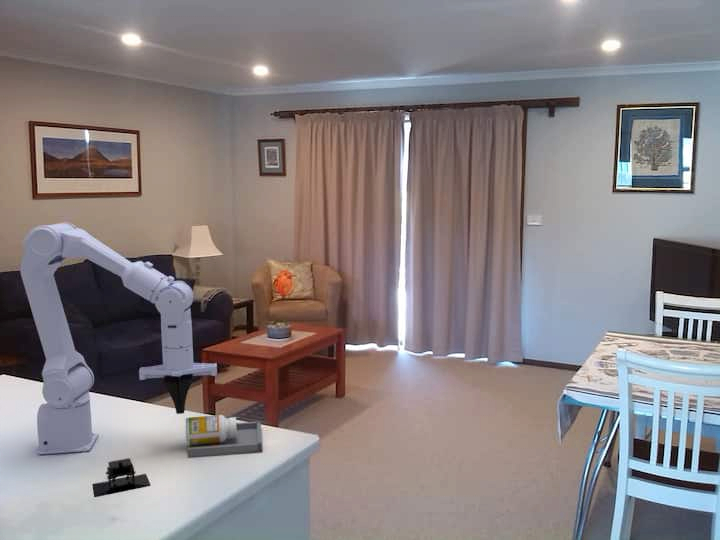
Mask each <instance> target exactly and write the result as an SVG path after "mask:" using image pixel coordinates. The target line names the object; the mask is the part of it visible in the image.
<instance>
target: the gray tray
mask: <svg viewBox="0 0 720 540" xmlns="http://www.w3.org/2000/svg"><path fill="white" fill-rule="evenodd" d="M236 429H237V437H236V438H229V437H227V438H226V440H225V441H224V442H221V443H211V444H201V445H189V446H188V447H187V450H186V451H187V458H197V457H198V458H200V457H211V456H212V457H213V456H226V454H228V455H238V454H251V453H252V454H253V453H262V452H263V443H262V442H263V441H262V422H261V421H245V422H236Z"/></svg>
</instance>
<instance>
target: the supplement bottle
mask: <svg viewBox="0 0 720 540" xmlns="http://www.w3.org/2000/svg"><path fill="white" fill-rule="evenodd" d="M236 423H237V417H234V416H233V417H231V416H230V417H228V418H226V416H225V415H222V414H215V415H214V414H213V415H205V416H195V417H194V416H193V417H186V418H185V441H186V446H187V447H190V445H201V444H211V443H221V442H224V441H225V440H226V438H227V437H229V438H236V437H237V429H236Z"/></svg>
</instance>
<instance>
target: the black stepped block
mask: <svg viewBox="0 0 720 540" xmlns="http://www.w3.org/2000/svg"><path fill="white" fill-rule="evenodd" d="M107 465H108V466H107V467H106V472H105V475H107V476H106V479H107V480H106V481H100V482H95V483H92V491H93V498H98V497H103V496H108V495H113V494H118V493H123V492H128V491H133V490H139V489H143V488H147V487H151V482H150V480H149V477H148V475H147V473H142V474H136V470H135V467H134V464H133V462H132V459H131V457H130V458H123V459H122V458H121V459H117V460H112V461H108V464H107ZM135 474H136V475H135ZM119 477H120V478H119Z"/></svg>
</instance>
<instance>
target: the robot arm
mask: <svg viewBox="0 0 720 540" xmlns="http://www.w3.org/2000/svg"><path fill="white" fill-rule="evenodd" d="M22 246H23V249H24V250H23V253H22V260H21V265H20V268H19V269H20V270H19V271H20V277H21V279H22V282H23V286H24V289H25V293H26V295H27V299H28V302H29V303H28V304H29V305H30V309H31V313H32V317H33V319H34V323H35V326H36V330H37V333H38V336H39V340H40V343H41V346H42V350H43V353H44V356H45V363H44V365H43V369H42V371H41V376H42V380H43V385H42V388H41V389H42V390H41V391H42V396H43V399H44V400H45V402H47V403H41V404H40V405H39V407H38V410H37V415H36V425H37V426H36V428H37V437H38V438H37V441H38V451H37V454H38V455H49V454H50V455H51V454H64V453H66V454H67V453H80V452H90V451H91V449H92V447H93V446H94V444H95V443H96V441H97V439H98V438H99V433H93V426H92V424H93V423H92V411H91V408H92V407H91V398H90V390H91V389H92V387H93V385H94V382H95V376H94V373H93V371H92V369H91V368H90V367H89V366H88V364H87V363H86V360H85V357H84V356H83V354H81V353H79V352H78V351H77V350H76V349H75V345H74V341H73V337H72V334H71V331H70V327H69V323H68V319H67V317H66V314H65V311H64V307H63V304H62V300H61V296H60V293H59V290H58V286H57V283H56V279H55V275H54V274H55V272H56V271H57V270H58V268H59V267H60V265H61V264H62V263H63V261H64V260H66V259H67V258H84V259H87V260H89V261H90V262H91V263H94V264H96V265H98V266H99V267H102V268H103V269H105V270H107V271H109V272H111V273H112V274H115V275H117V276H118V277H120V278H121V280H122V284H123V287H124V288H127V289H128V290H130V291H132V292H133V293H135V294H136V295H139V296H140V297H142V298H144V299H145V300H147V301H148V302H150V303H151V304H154V306H155V308H156V310H157V311H158V312H159V313H160V326H161V327H160V330H161V349H162V351H161V352H162V364H159V365H153V366H145V367H140V368H139V370H138V376H139V381H144V380H146V379H158V378H164V379H163V380H164V381H163V384H164V387H165V388H166V390H167V391H168V393H169V395H170V397H171V400H172V402H173V404H174V407H175V413H176V415H181V414H184V413H185V411H186V409H185V408H186V401H187V395H188V392H189V390H190V387H191V385H192V384H193V383H192V382H193V379H194V377H195V376H196V377H197V376H212V377H214V376H215V377H216V376H217V375H218V365H217V363H205V362H201V363H200V362H194V348H193V325H192V314H191V313H192V312H191V311H192V310H191V307H190V306H191V305H192V304H193V302H194V298H195V296H194V295H195V293H194V291H193V288H191V286H190V285H188V284H187V283H186V281H183V280H175V277H173V276H171V275H169V276H167V275H165V274H164V273H162V272H160V271H159V270H157V269H155V268H154V267H153V266H154V264H153V263H151V262H150V261H146V262H143V261H141V260H138V261H135V262H132V261H130V260H128V259H127V258H125V257H124V256H122V255H121V254H119V253H118V252H116V251H115V250H114V249H111V248H110V247H108V246H107V245H105V244H104V243H103V242H101V241H100V240H98V239H96V238H95V237H94V236H92V235H91V234H89V233H88V232H87V231H86V230H84V229H83V228H77V226H76V225H74V224H73V223H71V222H67V221H62V222H58V223H54V224H49V225H45V224H44V225H38V226H35V227H33V228H32V229H31V230H30V231H29V233H28V234H27V235H26V236H25V238H24V239H23V240H22Z"/></svg>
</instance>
